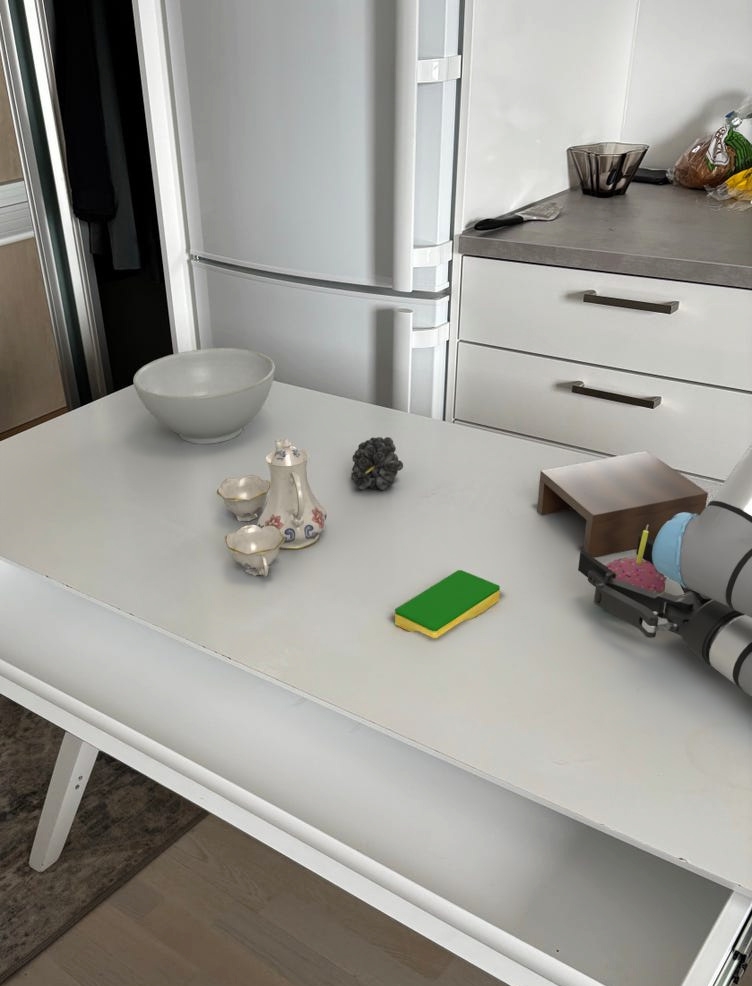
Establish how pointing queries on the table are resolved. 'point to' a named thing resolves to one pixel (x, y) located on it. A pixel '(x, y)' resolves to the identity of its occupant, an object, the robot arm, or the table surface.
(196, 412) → the decorative bowl
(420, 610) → the dish sponge
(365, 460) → the fruit
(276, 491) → the chinaware
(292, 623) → the table surface
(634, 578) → the cupcake
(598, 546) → the shelf
